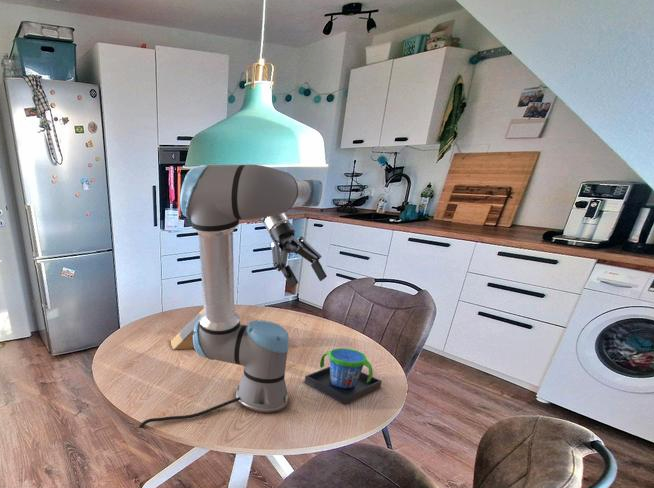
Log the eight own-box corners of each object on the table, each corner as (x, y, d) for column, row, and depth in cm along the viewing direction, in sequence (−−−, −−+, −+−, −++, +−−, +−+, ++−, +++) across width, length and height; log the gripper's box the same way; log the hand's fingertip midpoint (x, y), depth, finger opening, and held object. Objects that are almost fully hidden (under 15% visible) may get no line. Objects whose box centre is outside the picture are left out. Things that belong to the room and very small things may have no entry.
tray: (345, 404, 113) (347, 397, 112) (304, 382, 124) (305, 375, 123) (380, 387, 121) (382, 380, 120) (338, 368, 133) (339, 362, 132)
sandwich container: (170, 340, 156) (169, 305, 150) (207, 338, 158) (208, 303, 152) (172, 349, 148) (172, 312, 142) (211, 347, 150) (213, 310, 144)
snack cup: (311, 379, 125) (315, 351, 121) (328, 369, 131) (333, 342, 127) (357, 399, 114) (364, 369, 110) (374, 388, 120) (381, 358, 116)
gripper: (298, 232, 139) (326, 282, 133) (245, 239, 127) (274, 294, 121) (312, 218, 133) (342, 270, 127) (258, 223, 121) (289, 281, 115)
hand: (309, 281), depth 124 cm, fingers open, 13 cm apart
